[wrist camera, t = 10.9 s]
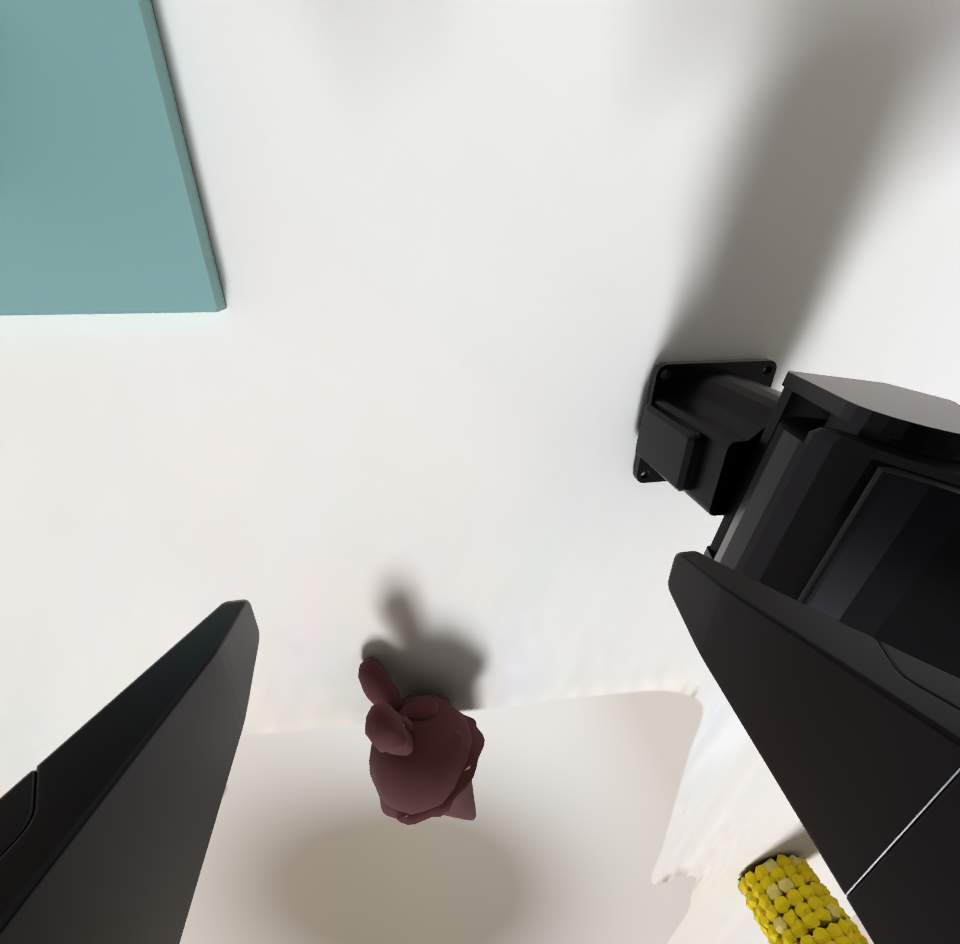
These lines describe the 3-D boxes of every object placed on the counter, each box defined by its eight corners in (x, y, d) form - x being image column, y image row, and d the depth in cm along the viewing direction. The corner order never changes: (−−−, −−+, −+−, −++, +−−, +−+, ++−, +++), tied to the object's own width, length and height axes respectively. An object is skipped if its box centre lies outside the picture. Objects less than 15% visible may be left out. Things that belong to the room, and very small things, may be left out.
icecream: (539, 832, 29) (443, 689, 23) (441, 909, 28) (310, 779, 21) (497, 745, 35) (412, 613, 29) (416, 804, 34) (308, 679, 28)
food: (716, 865, 58) (780, 823, 56) (765, 906, 61) (827, 867, 59) (802, 1042, 43) (892, 992, 42) (861, 1084, 46) (948, 1040, 45)
